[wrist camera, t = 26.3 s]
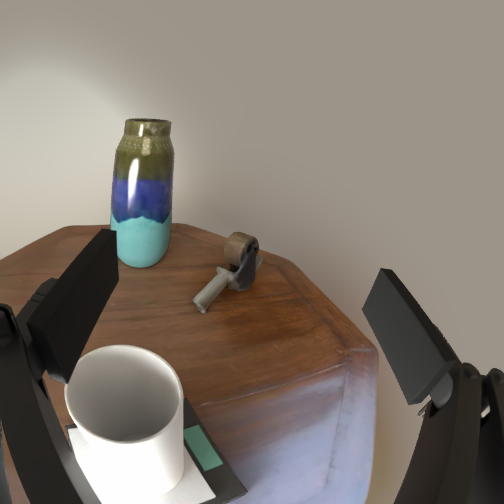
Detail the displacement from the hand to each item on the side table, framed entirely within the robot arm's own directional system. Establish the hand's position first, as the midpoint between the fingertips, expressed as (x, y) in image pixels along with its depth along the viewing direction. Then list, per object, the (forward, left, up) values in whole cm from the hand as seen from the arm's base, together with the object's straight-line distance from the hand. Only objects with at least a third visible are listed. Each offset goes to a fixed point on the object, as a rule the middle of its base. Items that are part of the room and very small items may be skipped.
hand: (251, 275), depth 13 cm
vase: (+48, -6, -28) cm, 56 cm away
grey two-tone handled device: (+31, -20, -28) cm, 47 cm away
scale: (+2, +7, -28) cm, 29 cm away
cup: (+2, +7, -25) cm, 26 cm away
